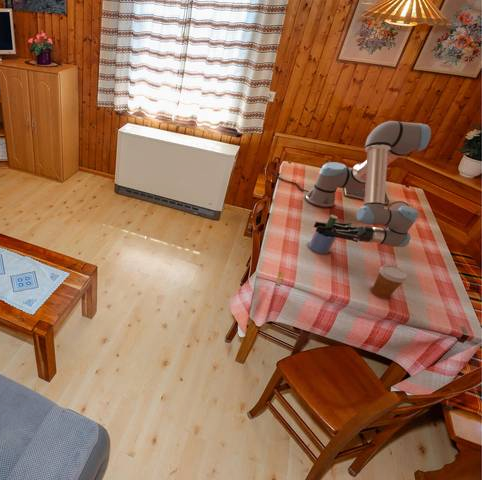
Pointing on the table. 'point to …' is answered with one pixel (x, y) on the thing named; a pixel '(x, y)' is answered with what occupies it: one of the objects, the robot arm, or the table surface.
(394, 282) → the disposable coffee cup
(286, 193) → the table surface
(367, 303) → the table surface
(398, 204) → the magnifying glass
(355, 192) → the hardcover book
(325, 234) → the stick
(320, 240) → the tumbler
